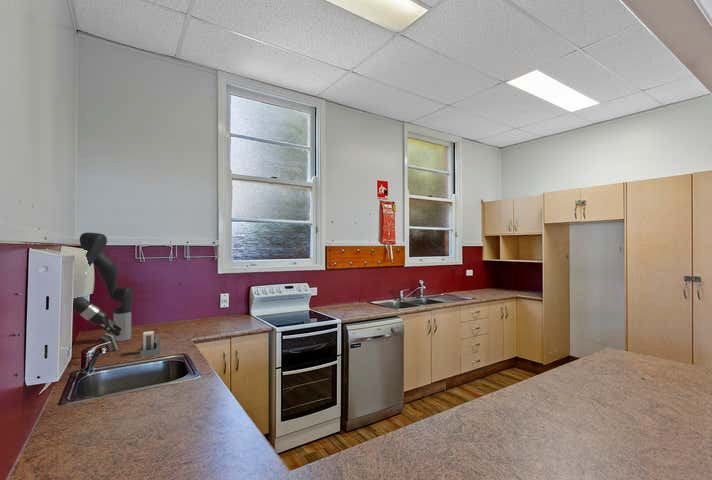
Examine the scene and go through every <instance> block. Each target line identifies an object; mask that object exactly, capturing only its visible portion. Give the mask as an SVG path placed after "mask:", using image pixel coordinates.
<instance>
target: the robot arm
mask: <svg viewBox="0 0 712 480" xmlns="http://www.w3.org/2000/svg"><path fill="white" fill-rule="evenodd" d="M79 244H80V246H81V248H82V249H83V251H84V250H87V251H88V252H87V253H85V255H86V257H87V260H88V264H89V266H90V267H91V265H92V264H93V265H94V267H95V269H96V271H97V272H98V275H99V277H100V278H101V279H102V281H103V283H104V285H105V287H106V290H107V292H108V295H109V297H110V299H111V300H112V301H113V302H119V303H121V302H122V303H121V305H120V306H117V307H115V308H113V319H111V318H109V317H108V316H107V315H108V314H107V313H106V312H105V311H104V310H102V309H101V308H100V307H98V306H97V305H95V304H93V303H91V301H88V299H86V298H84V297H83V296H82V297H77V298H74V303H73V309H72V310H73V311H74V312H75V313H77V314H78V315H80V316H81V317H82V318H83V319H85V320H86V321H88V322H89V323H90V324H92V326H93V325H94V326H96V325H98V324H100V325H99V327H100V328H101V329H103V330H104V331H106V332H107V334H110V333H111V334H112V335H113V337H114V340H115V342H125V341H129V340H131V339H132V308H133V298H134V291H133V288H132V287H130V286H119V285H118V284H117V282H116V280H117V277H118V275H119V269H118V266H117V265H116V263H115V262H114V260H113V259H112V258H110V256H108V255H107V254H105V253H104V252H103V251H104V249H105V247H106V245H107V244H108V237H107V236H106V235H105V234H103V233H98V232H83V233H82V234H80V236H79ZM85 301H86V302H85Z"/></svg>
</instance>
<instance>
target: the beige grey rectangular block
mask: <svg viewBox="0 0 712 480" xmlns="http://www.w3.org/2000/svg"><path fill="white" fill-rule="evenodd" d="M154 332H155V331H153V330H151V331H144V332H143V334H142V336H143V340H142V341H143V343H142V344H143V350H149V349H155V348H154V342H155V340H154V337H155V336H154V335H155V333H154Z"/></svg>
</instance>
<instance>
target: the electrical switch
mask: <svg viewBox="0 0 712 480" xmlns="http://www.w3.org/2000/svg"><path fill="white" fill-rule="evenodd" d="M99 340H100V342H101V344H102V343H105V342H109V341H111V343H110V344H107V345H106V348H107V349H108V352H112V351H117V350H118V349H119V348H118V346H117V345H118V344H117V343H116V342H117V341H115V340H114V334H110V333H108V332H107V333H104V335H102V336H100V337H99ZM106 348H105V349H106Z"/></svg>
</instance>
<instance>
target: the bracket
mask: <svg viewBox="0 0 712 480" xmlns="http://www.w3.org/2000/svg"><path fill="white" fill-rule="evenodd" d="M160 338H161V337H160V332H159V333H156V336H155V341H154V349H149V350H143V343H141V344H140V354H139V357H140V358H142V357H148V356H154V355H155V356H156V355H160V348H161V347H160V343H161V342H160Z"/></svg>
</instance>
